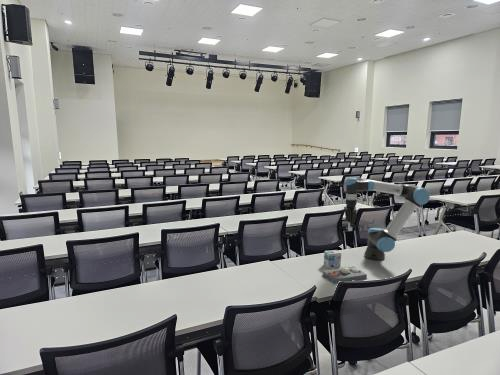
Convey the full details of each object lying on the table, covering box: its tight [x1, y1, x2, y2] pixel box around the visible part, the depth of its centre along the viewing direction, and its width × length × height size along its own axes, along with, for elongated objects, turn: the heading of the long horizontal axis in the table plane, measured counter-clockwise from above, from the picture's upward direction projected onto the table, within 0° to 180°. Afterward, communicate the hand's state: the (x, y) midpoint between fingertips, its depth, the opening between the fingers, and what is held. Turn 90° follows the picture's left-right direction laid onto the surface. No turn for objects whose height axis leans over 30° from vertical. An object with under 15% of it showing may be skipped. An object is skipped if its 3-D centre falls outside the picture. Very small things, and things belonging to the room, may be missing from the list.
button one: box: [351, 267, 360, 273], centre depth 223 cm, size 5×5×3 cm
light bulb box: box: [323, 249, 342, 269], centre depth 238 cm, size 11×7×11 cm, turn 105°
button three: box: [330, 271, 338, 277], centre depth 218 cm, size 5×5×3 cm
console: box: [322, 265, 368, 285], centre depth 220 cm, size 25×14×3 cm, turn 109°
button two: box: [340, 266, 349, 274], centre depth 220 cm, size 5×5×3 cm
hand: (350, 230), depth 239 cm, fingers closed
